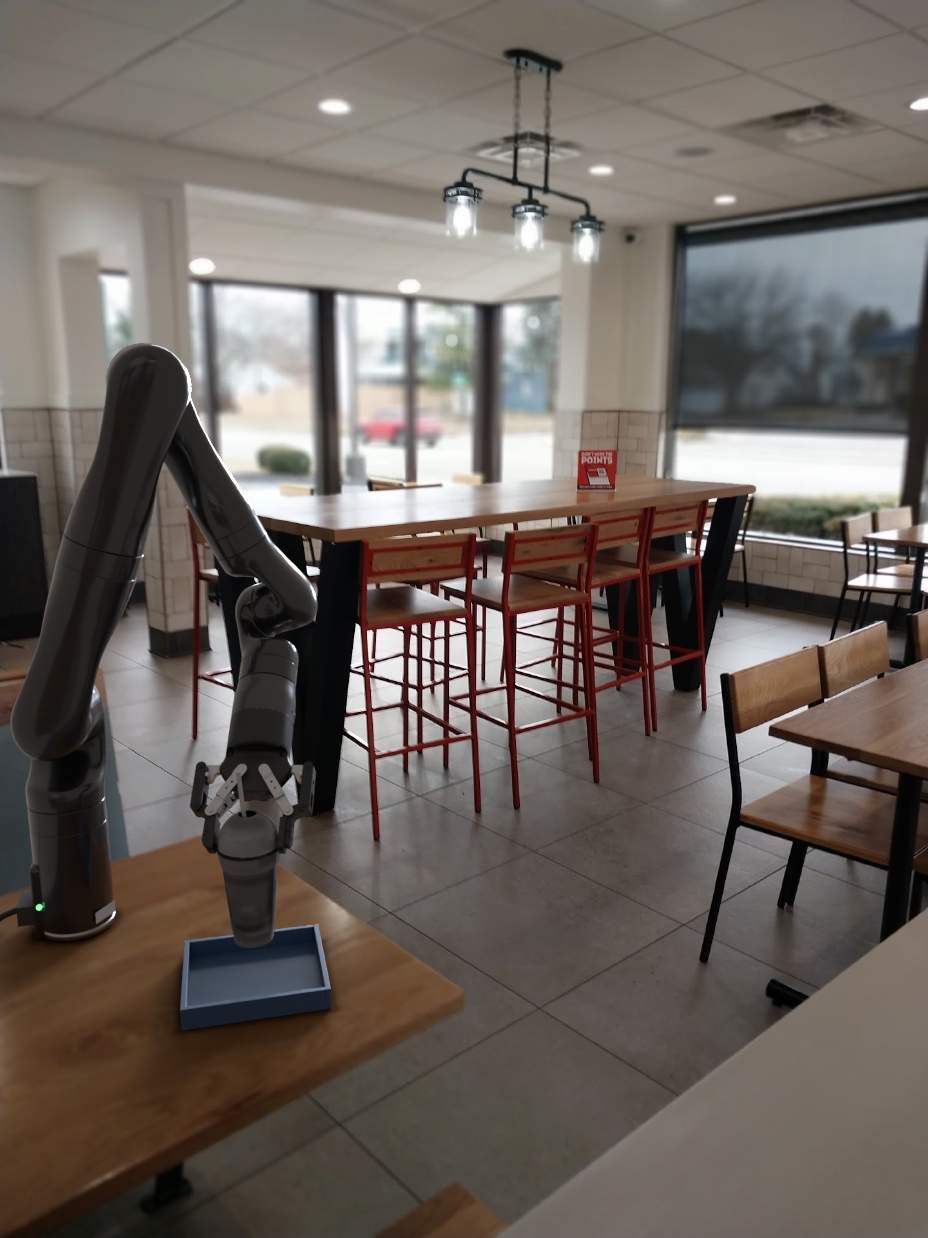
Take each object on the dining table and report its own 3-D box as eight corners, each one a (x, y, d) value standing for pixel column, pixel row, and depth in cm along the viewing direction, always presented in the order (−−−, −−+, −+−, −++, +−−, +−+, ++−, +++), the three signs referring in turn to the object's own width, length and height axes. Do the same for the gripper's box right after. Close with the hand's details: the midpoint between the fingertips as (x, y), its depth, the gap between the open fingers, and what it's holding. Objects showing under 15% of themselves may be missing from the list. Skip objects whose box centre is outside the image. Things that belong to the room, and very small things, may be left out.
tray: (181, 1031, 102) (179, 1010, 102) (185, 959, 116) (184, 940, 115) (331, 1009, 106) (330, 989, 106) (318, 942, 120) (318, 924, 119)
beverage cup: (250, 962, 105) (240, 793, 101) (208, 940, 109) (197, 778, 105) (298, 934, 111) (292, 773, 106) (257, 914, 115) (249, 759, 111)
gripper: (196, 705, 112) (173, 840, 103) (317, 705, 112) (305, 840, 103) (210, 733, 118) (190, 862, 109) (325, 732, 118) (314, 862, 109)
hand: (246, 851), depth 106 cm, fingers closed on beverage cup, 7 cm apart
